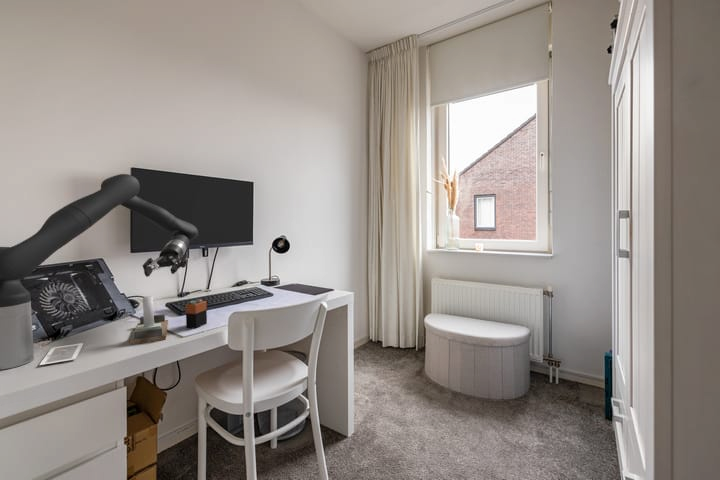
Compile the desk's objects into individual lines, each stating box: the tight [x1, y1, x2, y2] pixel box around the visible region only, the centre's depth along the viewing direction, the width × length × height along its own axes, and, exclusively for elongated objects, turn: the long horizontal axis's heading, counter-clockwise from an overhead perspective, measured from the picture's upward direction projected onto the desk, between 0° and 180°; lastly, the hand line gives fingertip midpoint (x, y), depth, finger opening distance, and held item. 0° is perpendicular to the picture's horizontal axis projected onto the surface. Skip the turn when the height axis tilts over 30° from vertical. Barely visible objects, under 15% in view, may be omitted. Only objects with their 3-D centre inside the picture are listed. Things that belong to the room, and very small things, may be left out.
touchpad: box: [39, 342, 84, 366], centre depth 102 cm, size 8×15×2 cm, turn 32°
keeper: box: [135, 295, 161, 330], centre depth 116 cm, size 7×4×12 cm, turn 118°
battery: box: [185, 298, 208, 329], centre depth 130 cm, size 4×7×10 cm, turn 168°
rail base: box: [130, 313, 169, 345], centre depth 122 cm, size 10×20×4 cm, turn 28°
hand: (159, 273), depth 121 cm, fingers open, 8 cm apart
